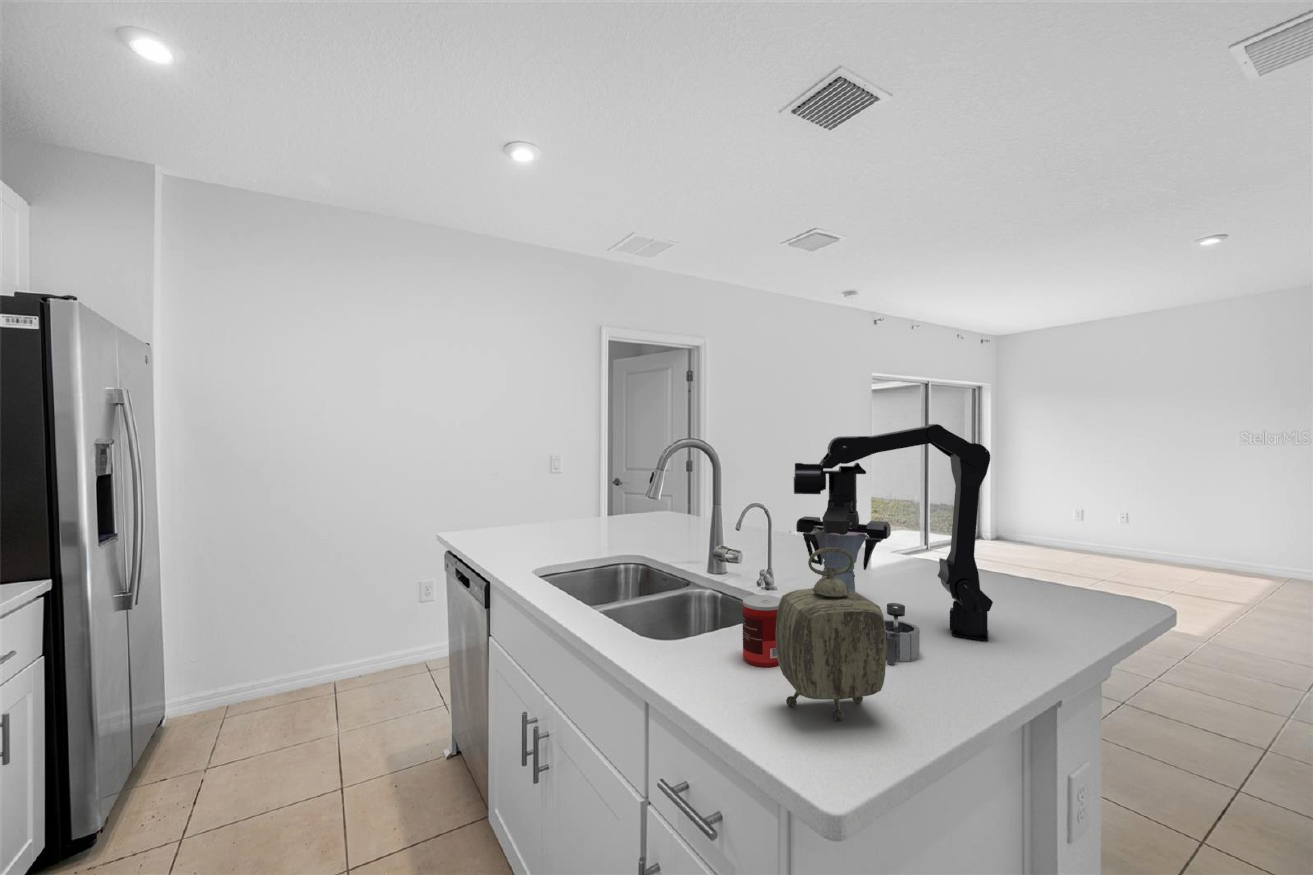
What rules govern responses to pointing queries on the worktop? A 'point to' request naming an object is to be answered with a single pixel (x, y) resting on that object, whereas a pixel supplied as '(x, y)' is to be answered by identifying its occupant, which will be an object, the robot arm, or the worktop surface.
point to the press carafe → (902, 642)
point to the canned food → (760, 630)
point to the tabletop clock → (831, 640)
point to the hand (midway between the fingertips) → (842, 567)
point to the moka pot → (838, 559)
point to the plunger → (895, 613)
